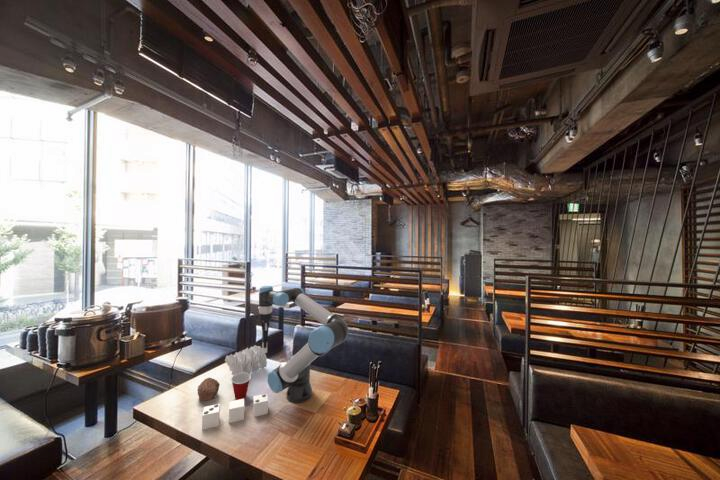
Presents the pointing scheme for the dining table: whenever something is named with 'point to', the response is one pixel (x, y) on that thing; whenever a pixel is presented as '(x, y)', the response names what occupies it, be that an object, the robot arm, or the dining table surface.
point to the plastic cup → (240, 385)
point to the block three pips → (210, 416)
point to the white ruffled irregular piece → (247, 360)
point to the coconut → (208, 389)
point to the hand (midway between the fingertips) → (264, 352)
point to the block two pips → (260, 405)
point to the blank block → (236, 410)
